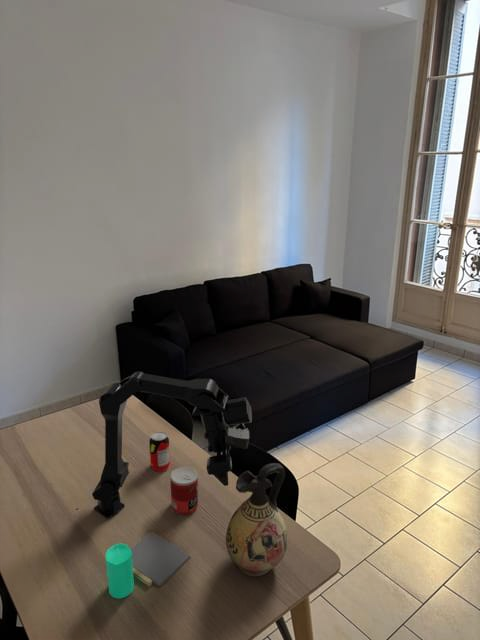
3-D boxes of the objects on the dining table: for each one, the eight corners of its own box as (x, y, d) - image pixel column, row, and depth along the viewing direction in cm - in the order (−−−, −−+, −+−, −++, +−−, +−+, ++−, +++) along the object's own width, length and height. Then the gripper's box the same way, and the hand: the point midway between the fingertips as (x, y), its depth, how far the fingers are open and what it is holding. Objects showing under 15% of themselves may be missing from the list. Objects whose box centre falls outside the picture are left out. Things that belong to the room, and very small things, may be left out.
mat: (120, 559, 123) (120, 557, 123) (151, 533, 132) (151, 531, 132) (159, 586, 116) (159, 585, 115) (190, 557, 124) (190, 555, 124)
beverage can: (168, 459, 163) (166, 429, 159) (171, 470, 158) (170, 439, 154) (149, 463, 161) (147, 432, 157) (152, 474, 156) (150, 442, 152)
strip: (121, 566, 121) (121, 563, 121) (124, 564, 122) (124, 560, 121) (149, 587, 116) (149, 583, 115) (152, 584, 116) (152, 580, 116)
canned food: (194, 517, 138) (193, 485, 134) (167, 512, 139) (166, 481, 136) (201, 499, 145) (201, 468, 141) (176, 495, 146) (175, 465, 143)
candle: (110, 577, 118) (107, 539, 114) (135, 576, 118) (132, 537, 114) (106, 599, 112) (102, 559, 108) (132, 597, 113) (129, 558, 109)
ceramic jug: (240, 597, 113) (242, 493, 103) (217, 550, 127) (217, 453, 117) (302, 574, 120) (310, 474, 110) (274, 531, 133) (279, 439, 123)
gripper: (244, 439, 118) (256, 491, 123) (244, 403, 136) (254, 450, 141) (200, 447, 119) (214, 499, 124) (205, 410, 137) (217, 456, 141)
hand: (226, 474), depth 132 cm, fingers open, 9 cm apart
